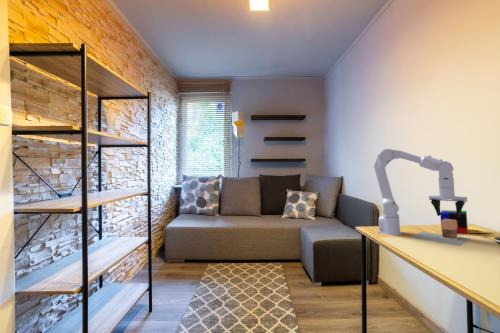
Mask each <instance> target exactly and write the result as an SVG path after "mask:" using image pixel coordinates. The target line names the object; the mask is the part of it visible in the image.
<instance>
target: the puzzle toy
mask: <svg viewBox="0 0 500 333" xmlns="http://www.w3.org/2000/svg"><path fill="white" fill-rule="evenodd" d="M440 212H441V215H440V221H441V220H443V219H452V220H456V225H457V234H463V235H468V231H467V230H469V228H468V216H467V215H468V214H467V213H468V212H467V210H463V209H462V210H461V214H460V217H459V218H457V211H456V209H441V210H440ZM440 228H441V231H442V224H441V223H440Z"/></svg>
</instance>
